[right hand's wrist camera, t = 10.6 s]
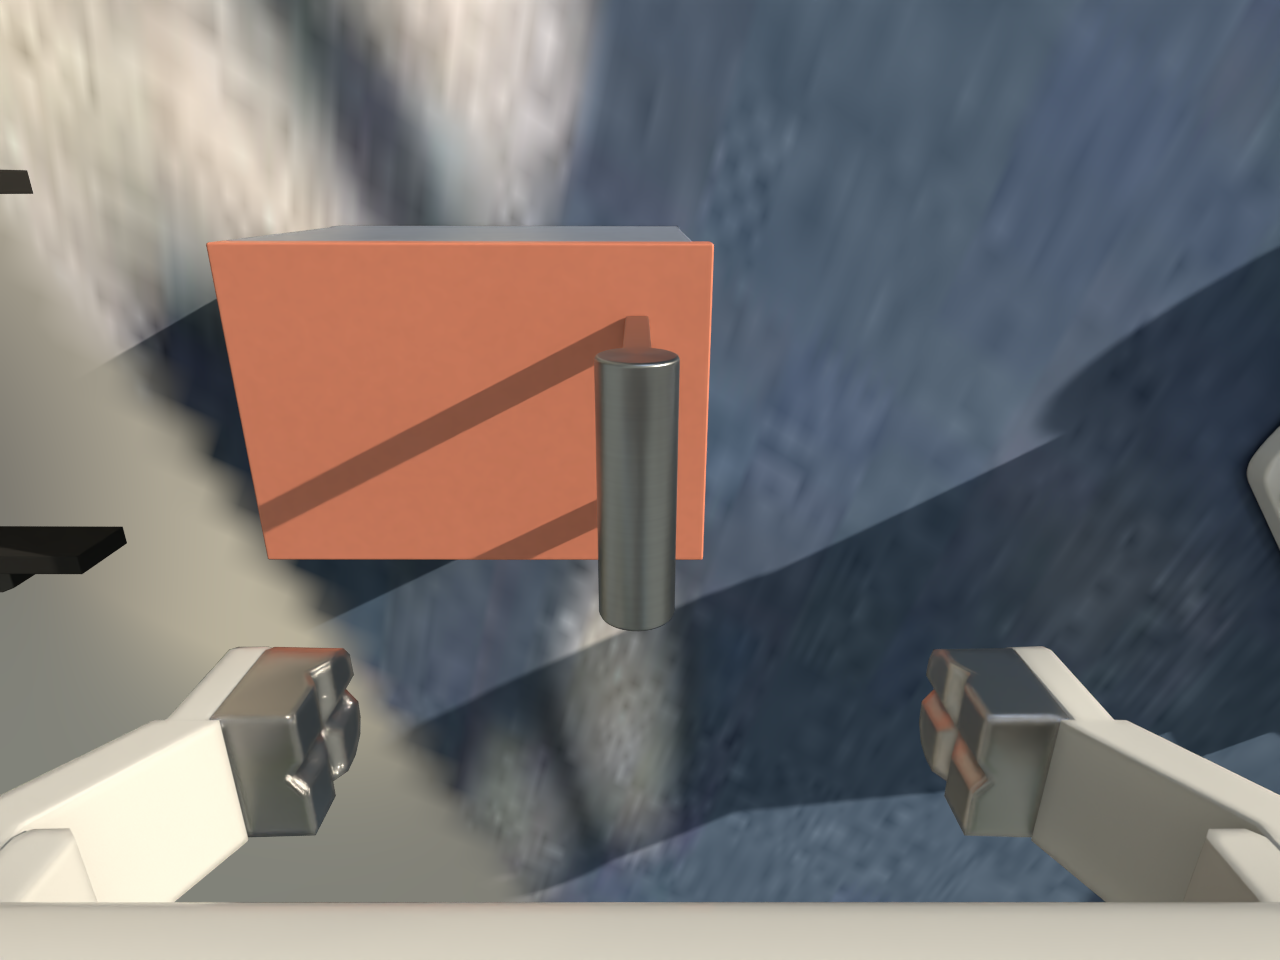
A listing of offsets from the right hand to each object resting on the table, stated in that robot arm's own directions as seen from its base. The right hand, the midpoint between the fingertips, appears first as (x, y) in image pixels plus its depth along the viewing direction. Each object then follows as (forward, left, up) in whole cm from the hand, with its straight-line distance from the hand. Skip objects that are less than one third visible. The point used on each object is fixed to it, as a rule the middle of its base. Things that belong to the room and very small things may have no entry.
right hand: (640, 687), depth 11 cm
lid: (+2, +5, -15) cm, 16 cm away
